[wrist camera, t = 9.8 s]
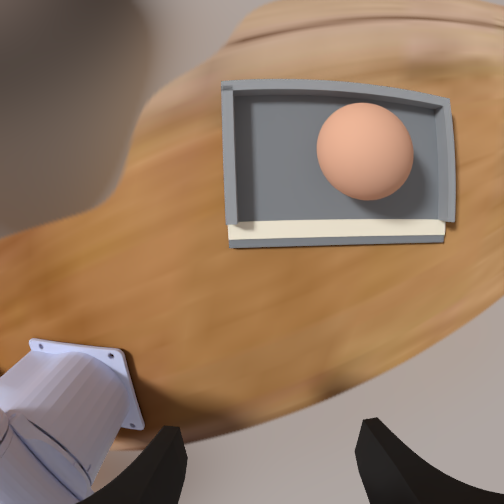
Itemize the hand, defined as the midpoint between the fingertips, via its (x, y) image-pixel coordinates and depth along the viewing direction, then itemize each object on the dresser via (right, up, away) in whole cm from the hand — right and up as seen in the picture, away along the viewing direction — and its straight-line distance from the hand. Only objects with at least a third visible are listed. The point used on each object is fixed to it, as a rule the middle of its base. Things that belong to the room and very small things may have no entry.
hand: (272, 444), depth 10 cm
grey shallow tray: (+5, +13, +7) cm, 15 cm away
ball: (+5, +13, +4) cm, 14 cm away
